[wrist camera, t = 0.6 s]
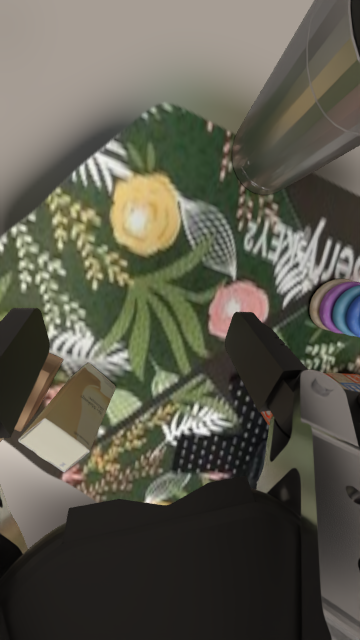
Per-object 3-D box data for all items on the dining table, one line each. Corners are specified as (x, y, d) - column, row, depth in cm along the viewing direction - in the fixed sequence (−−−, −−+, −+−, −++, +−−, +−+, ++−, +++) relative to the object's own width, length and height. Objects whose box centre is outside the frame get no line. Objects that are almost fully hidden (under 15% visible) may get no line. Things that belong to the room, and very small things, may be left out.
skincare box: (117, 386, 34) (93, 453, 22) (98, 401, 35) (65, 475, 23) (86, 360, 32) (43, 418, 21) (67, 377, 33) (15, 442, 21)
